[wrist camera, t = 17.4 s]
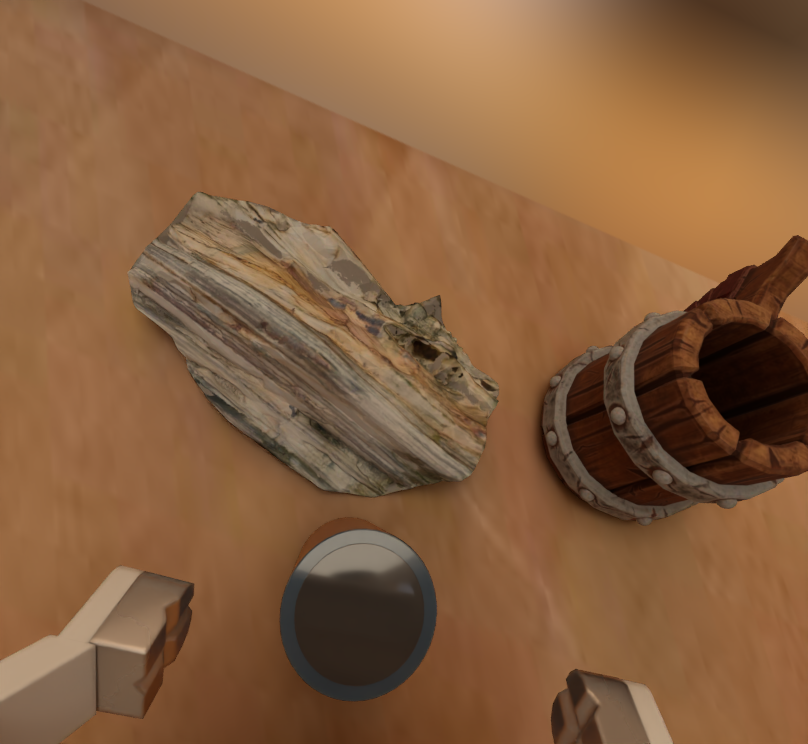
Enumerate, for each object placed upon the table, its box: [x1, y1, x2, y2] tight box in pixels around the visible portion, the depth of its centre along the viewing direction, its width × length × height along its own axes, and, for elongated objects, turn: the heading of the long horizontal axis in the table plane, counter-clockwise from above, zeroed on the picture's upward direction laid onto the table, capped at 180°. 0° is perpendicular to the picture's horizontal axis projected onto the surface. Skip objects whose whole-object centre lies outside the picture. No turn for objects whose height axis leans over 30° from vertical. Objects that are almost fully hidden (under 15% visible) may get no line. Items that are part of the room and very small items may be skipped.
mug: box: [541, 235, 808, 525], centre depth 27 cm, size 12×14×15 cm
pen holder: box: [280, 517, 437, 701], centre depth 21 cm, size 6×6×10 cm
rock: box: [128, 192, 499, 497], centre depth 28 cm, size 23×7×15 cm
